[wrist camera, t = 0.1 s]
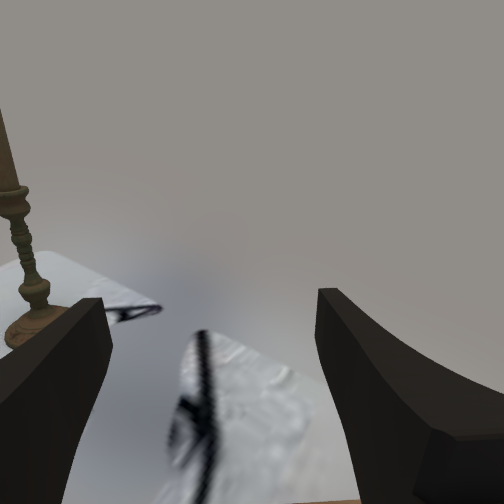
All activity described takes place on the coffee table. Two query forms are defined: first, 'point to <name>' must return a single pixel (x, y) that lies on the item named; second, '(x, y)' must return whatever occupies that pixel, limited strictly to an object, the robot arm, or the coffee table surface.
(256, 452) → the coffee table surface
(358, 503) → the board
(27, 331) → the candlestick holder
